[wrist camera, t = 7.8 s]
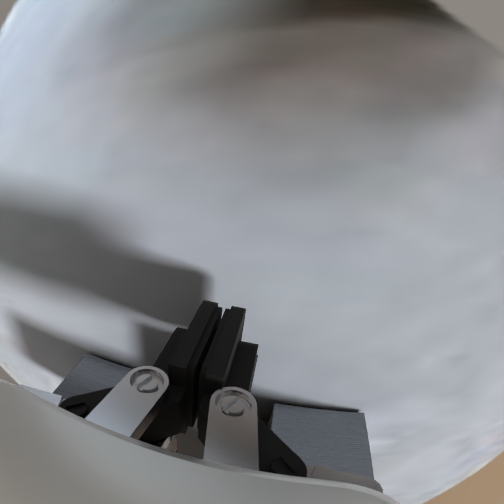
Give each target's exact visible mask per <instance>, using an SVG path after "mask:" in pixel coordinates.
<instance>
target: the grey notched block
mask: <svg viewBox="0 0 504 504" xmlns="http://www.w3.org/2000/svg"><path fill="white" fill-rule="evenodd" d="M131 370H132V369H130V368H127V367H124V366H121V365H118V364H115V363H112V362H110V361H107V360H104V359H101V358H98V357H96V356H93V355H90V354H88V353H87V354H86V355H85V356H84V357H83V358H82V359H81V361H80V362H79V363H78V364H77V365H76V366H75V367H74V369H73V370H72V371H71V372H70V373H69V374H68V376H67V377H66V378H65V379H64V380H63V381H62V383H61V384H60V385H59V386H58V387H57V389H56V390H55V391H54V392H53V394H57V395H61V396H62V397H63V399H67V398H69V397H72V396H76V395H81V394H86V393H90V392H94V391H99V390H103V389H107V388H111V387H115V386H116V385H117V384H118V383H119V382H120V381H121V380H122V379H123V378H124V377H125V376H126V375H127V374H128V372H130V371H131ZM268 427H269V428H270V429H271V430H272V431H273V432H274V433H275V434H276V435H277V436H278V437H279V438H280V439H281V440H282V441H283V442H284V443H285V444H286V445H287V446H288V447H289V448H290V449H291V450H292V451H293V452H295V453H296V454H297V455H298V456H299V457H300V458H301V459H302V460H303V462H304V463H305V465H308V466H312V467H315V466H316V465H319V466H322V467H326V468H330V469H334V470H338V471H342V472H346V473H350V474H355V475H359V476H364V477H369V478H371V479H374V476H373V468H372V461H371V454H370V447H369V441H368V434H367V428H366V422H365V416H364V413H355V412H342V411H332V410H322V409H313V408H305V407H298V406H290V405H284V404H277V403H274V406H273V410H272V413H271V416H270V420H269V423H268Z"/></svg>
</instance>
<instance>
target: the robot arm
mask: <svg viewBox="0 0 504 504" xmlns="http://www.w3.org/2000/svg"><path fill="white" fill-rule="evenodd" d="M245 313H246V309H244V308H239V307H234V306H232V307H231V309H226V310H225V312H224V314H223V317H222V319H221V316H222V308H221V307H218V303H215V302H210V301H205V300H204V301H203V302H202V304H201V306H200V307H199V309H198V311H197V313H196V315H195V316H194V318H193V320H192V322H191V324H190V325H189V327H188V329H183V328H179V327H178V328H176V329H175V331H174V333H173V334H172V336H171V338H170V339H169V341H168V342H167V344H166V346H165V347H164V349H163V351H162V352H161V354H160V356H159V357H158V359H157V361H156V362H155V364H154V366H140V367H137V368H134V369H132V370H131V371H130V372H128V374H127V375H126V376H125V377H124V378H123V379H122V380H121V381H120V382H119V383H118V384H117V385H116V386H115V387H111V388H107V389H103V390H99V391H94V392H90V393H86V394H81V395H76V396H72V397H69V398H67V399H63V397H62V396H61V395H57V394H53V393H49V392H45V391H42V390H38V389H34V388H31V387H28V386H24V385H19V384H16V385H14V384H12V383H9V382H7V381H4V380H1V379H0V504H400V503H399V502H398V501H396V500H395V499H393V498H391V497H389V496H387V495H385V494H383V489H382V487H381V486H380V484H379V483H378V482H377V481H375V480H374V479H371V478H369V477H364V476H359V475H355V474H350V473H346V472H342V471H338V470H334V469H330V468H326V467H322V466H319V465H316V466H315V467H312V466H308V465H305V463H304V462H303V460H302V459H301V458H300V457H299V456H298V455H297V454H296V453H295V452H293V451H292V450H291V449H290V448H289V447H288V446H287V445H286V444H285V443H284V442H283V441H282V440H281V439H280V438H279V437H278V436H277V435H276V434H275V433H274V432H273V431H272V430H271V429H270V428H269V427H268V426H267V425H266V424H265V423H264V422H263V421H262V420H261V419H260V418H259V417H258V416H257V403H256V399H255V398H254V397H253V395H252V394H251V393H249V388H250V383H251V379H252V374H253V369H254V364H255V359H256V354H257V349H258V344H253V343H247V342H242V341H241V338H242V332H243V326H244V319H245ZM196 419H197V429H198V439H199V440H200V441H201V443H202V444H203V445H204V446H205V449H204V458H203V459H199V458H195V457H191V456H188V455H184V454H180V453H177V452H173V451H170V450H167V449H166V448H167V447H168V445H169V444H170V442H171V439H172V436H173V435H176V434H179V433H184V434H185V433H186V431H187V428H188V427H192V428H193V426H194V424H195V421H196Z"/></svg>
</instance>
